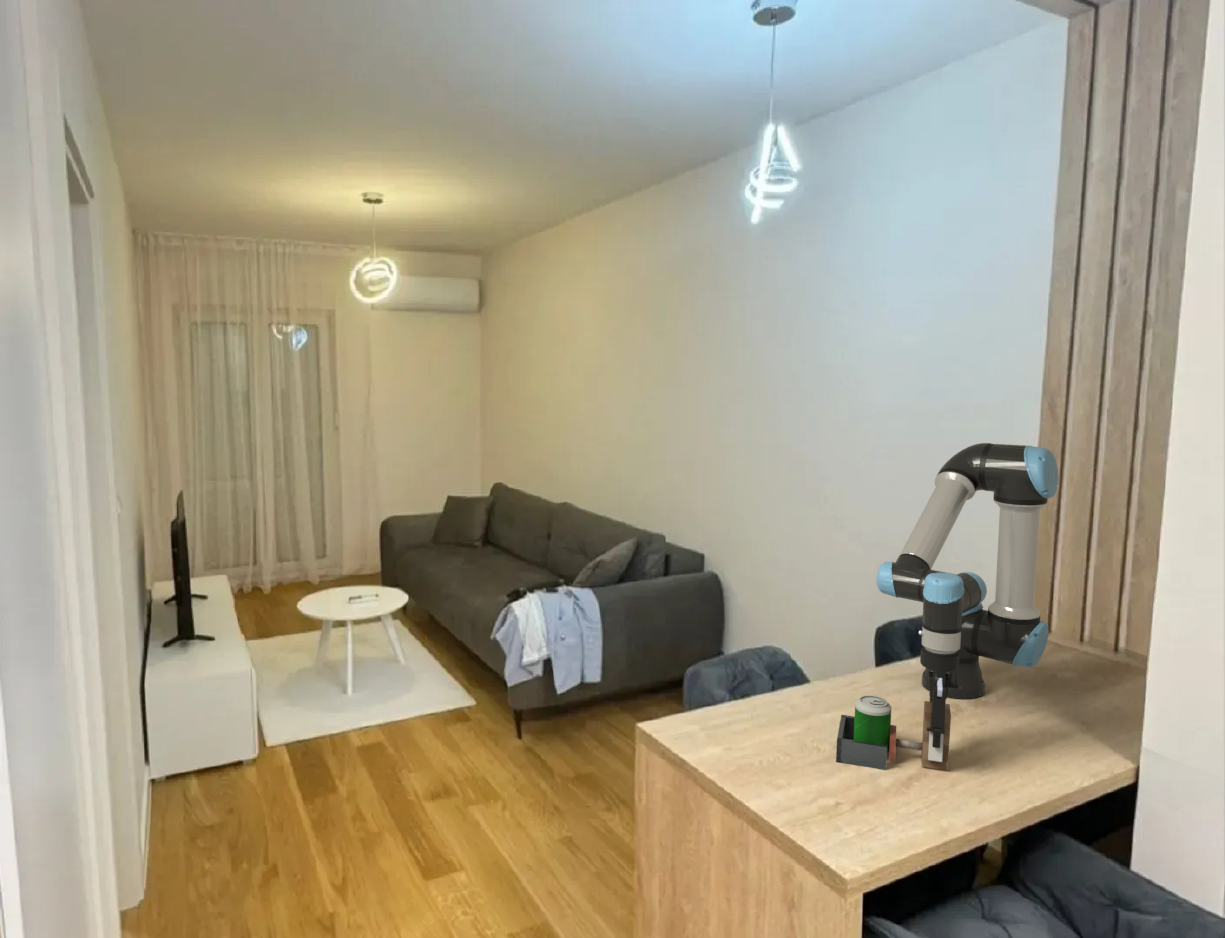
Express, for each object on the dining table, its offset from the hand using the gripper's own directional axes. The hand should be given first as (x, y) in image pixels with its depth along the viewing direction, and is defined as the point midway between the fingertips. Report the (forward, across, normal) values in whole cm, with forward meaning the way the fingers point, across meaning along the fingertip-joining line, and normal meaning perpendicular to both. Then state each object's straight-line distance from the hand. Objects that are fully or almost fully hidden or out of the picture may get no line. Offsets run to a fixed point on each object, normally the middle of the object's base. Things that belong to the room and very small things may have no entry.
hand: (934, 752), depth 172 cm
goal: (+2, 0, -15) cm, 15 cm away
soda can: (+3, 0, -13) cm, 13 cm away
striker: (+2, 0, -3) cm, 4 cm away
